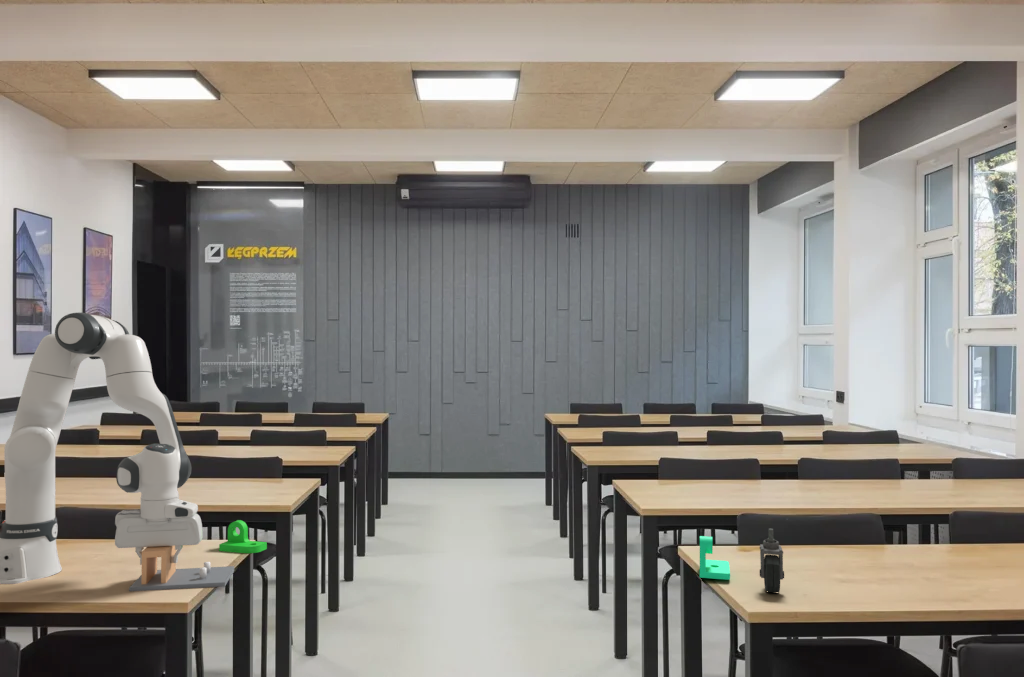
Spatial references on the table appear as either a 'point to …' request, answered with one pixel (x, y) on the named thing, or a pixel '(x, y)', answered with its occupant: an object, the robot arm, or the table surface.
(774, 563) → the caster wheel
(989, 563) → the table surface
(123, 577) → the table surface
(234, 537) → the mechanical part
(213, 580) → the plate
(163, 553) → the arch block
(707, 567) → the camera mount
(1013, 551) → the table surface
